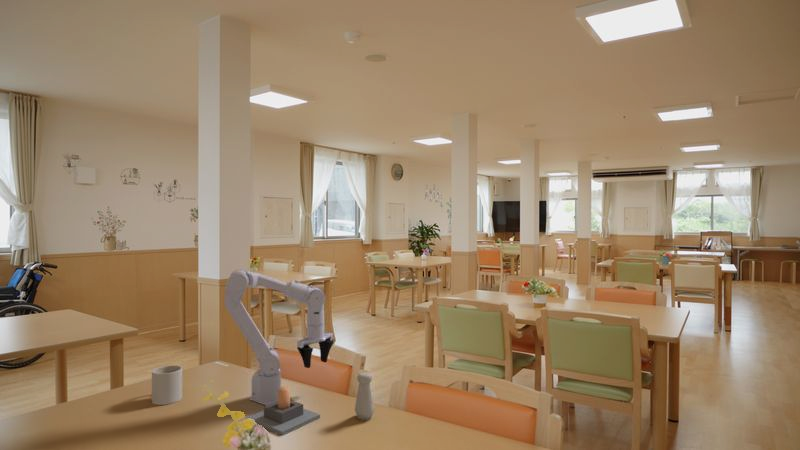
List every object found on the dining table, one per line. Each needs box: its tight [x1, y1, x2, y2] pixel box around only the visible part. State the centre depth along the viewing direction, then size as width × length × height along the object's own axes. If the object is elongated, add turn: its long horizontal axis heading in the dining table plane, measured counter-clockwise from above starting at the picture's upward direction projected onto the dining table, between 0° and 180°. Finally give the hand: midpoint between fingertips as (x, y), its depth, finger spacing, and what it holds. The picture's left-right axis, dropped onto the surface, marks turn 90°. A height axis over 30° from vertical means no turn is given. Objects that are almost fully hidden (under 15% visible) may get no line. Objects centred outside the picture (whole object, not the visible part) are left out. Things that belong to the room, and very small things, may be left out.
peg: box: [278, 386, 291, 410], centre depth 134 cm, size 4×4×8 cm
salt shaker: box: [354, 371, 375, 421], centre depth 135 cm, size 6×6×13 cm
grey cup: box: [151, 364, 183, 406], centre depth 150 cm, size 11×10×10 cm
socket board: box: [246, 399, 321, 436], centre depth 134 cm, size 16×14×4 cm
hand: (315, 364), depth 153 cm, fingers open, 7 cm apart
